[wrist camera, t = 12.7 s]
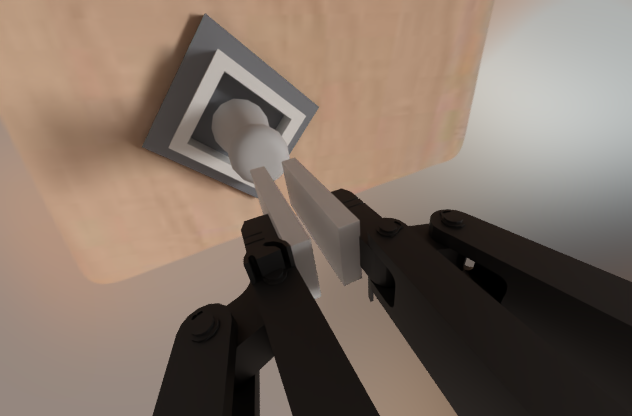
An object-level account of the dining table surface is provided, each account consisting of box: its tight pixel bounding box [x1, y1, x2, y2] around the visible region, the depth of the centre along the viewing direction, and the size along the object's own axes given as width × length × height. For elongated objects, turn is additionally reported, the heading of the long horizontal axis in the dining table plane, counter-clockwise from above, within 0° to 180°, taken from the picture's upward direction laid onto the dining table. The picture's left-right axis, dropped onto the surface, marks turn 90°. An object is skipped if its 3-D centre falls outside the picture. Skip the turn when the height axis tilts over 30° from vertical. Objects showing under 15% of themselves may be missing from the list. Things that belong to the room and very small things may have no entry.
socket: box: [142, 14, 319, 198], centre depth 26 cm, size 14×14×4 cm
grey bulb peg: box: [211, 99, 290, 184], centre depth 22 cm, size 6×6×13 cm
